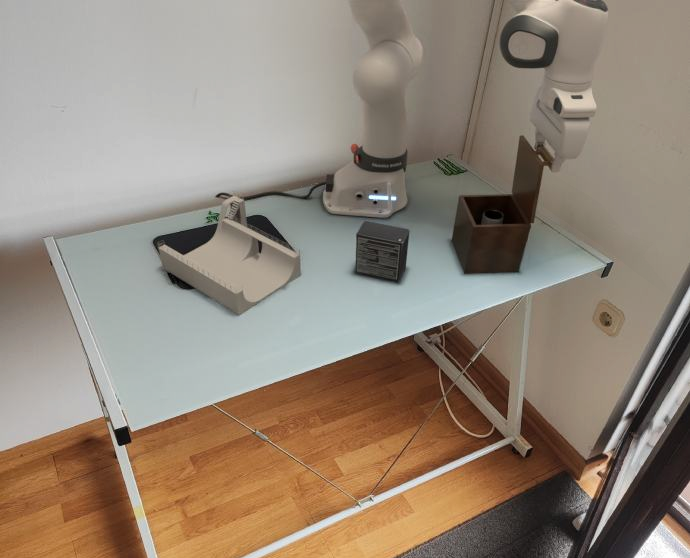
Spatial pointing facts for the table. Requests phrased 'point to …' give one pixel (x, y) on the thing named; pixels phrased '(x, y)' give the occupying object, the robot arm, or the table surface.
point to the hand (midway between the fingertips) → (546, 160)
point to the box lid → (529, 176)
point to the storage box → (489, 234)
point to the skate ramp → (235, 262)
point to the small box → (381, 251)
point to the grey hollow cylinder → (492, 217)
